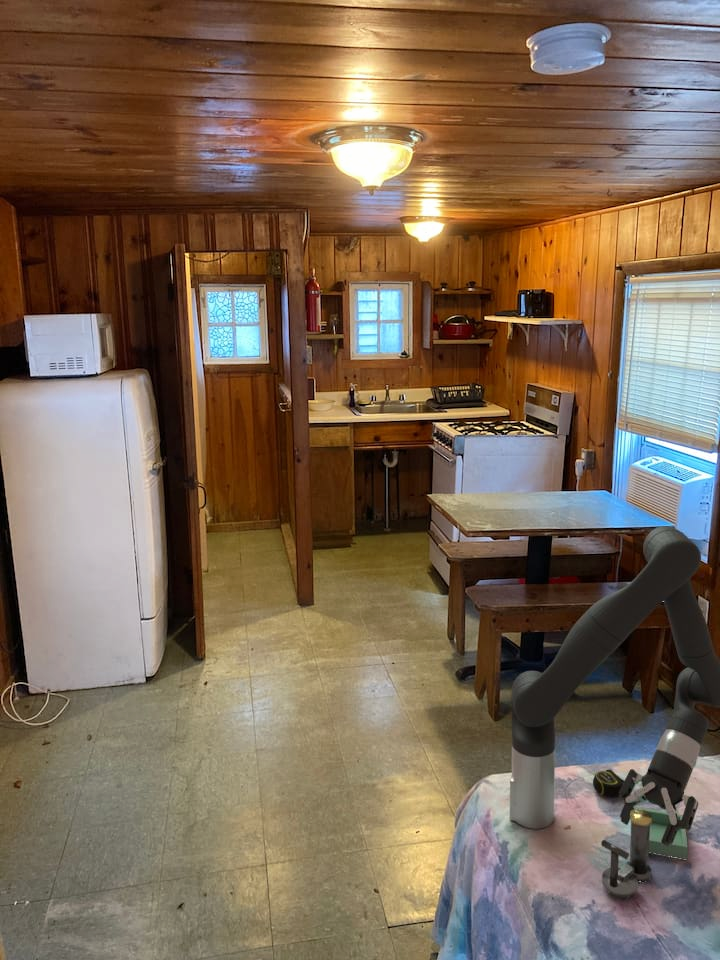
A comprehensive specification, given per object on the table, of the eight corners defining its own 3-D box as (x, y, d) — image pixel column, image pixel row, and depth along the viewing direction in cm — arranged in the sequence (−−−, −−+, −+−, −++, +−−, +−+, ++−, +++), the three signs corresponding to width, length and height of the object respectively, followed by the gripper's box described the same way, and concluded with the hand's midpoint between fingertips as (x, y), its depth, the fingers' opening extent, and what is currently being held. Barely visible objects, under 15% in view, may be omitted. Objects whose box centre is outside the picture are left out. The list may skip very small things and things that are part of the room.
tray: (631, 850, 153) (631, 837, 152) (630, 818, 163) (631, 806, 162) (686, 860, 149) (687, 847, 149) (683, 827, 159) (683, 815, 159)
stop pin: (625, 879, 145) (627, 820, 142) (625, 863, 149) (627, 805, 147) (651, 884, 143) (654, 825, 141) (650, 868, 148) (653, 810, 145)
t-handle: (625, 909, 138) (627, 857, 135) (595, 890, 142) (596, 840, 140) (645, 890, 142) (647, 840, 140) (614, 872, 147) (616, 824, 145)
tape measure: (629, 797, 170) (630, 782, 170) (604, 803, 168) (605, 788, 168) (611, 780, 177) (612, 766, 176) (586, 786, 175) (587, 772, 174)
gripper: (636, 737, 154) (604, 810, 149) (704, 766, 143) (672, 845, 138) (648, 751, 158) (617, 822, 153) (715, 779, 148) (684, 857, 142)
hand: (643, 833), depth 146 cm, fingers open, 8 cm apart
